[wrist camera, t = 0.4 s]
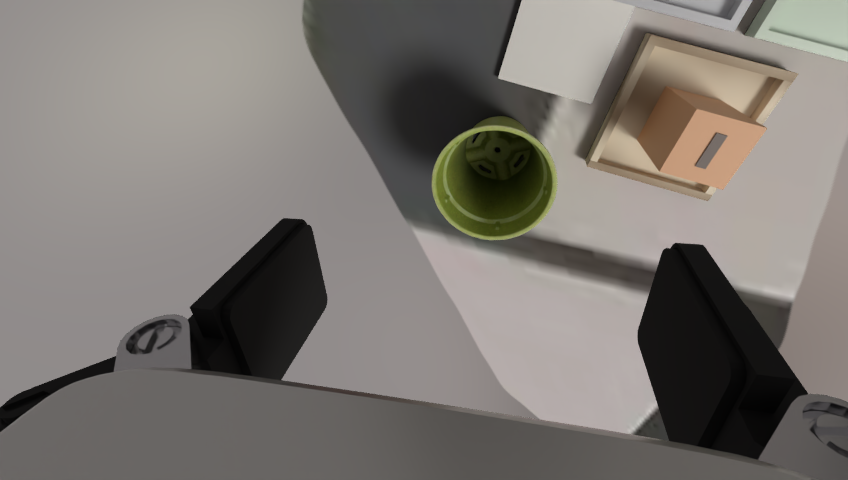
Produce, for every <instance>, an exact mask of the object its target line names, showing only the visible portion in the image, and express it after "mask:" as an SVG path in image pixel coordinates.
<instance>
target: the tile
mask: <svg viewBox="0 0 848 480" xmlns="http://www.w3.org/2000/svg"><path fill="white" fill-rule="evenodd" d="M634 8H635V6H632V5H628V4H624V3H620V2H617V1H613V0H522V1H521V4H520V8H519V11H518V14H517V17H516V21H515V24H514V27H513V31H512V34H511V37H510V40H509V44H508V47H507V50H506V53H505V57H504V60H503V63H502V66H501V70H500V73H499V76H498V79H502V80H506V81H509V82H513V83H516V84H520V85H524V86H527V87H531V88H534V89H538V90H542V91H545V92H549V93H552V94H556V95H560V96H563V97H567V98H570V99H574V100H578V101H581V102H585V103H588V104H592V102H593V99H594V97H595V95H596V93H597V90H598V88H599V86H600V84H601V81H602V79H603V77H604V75H605V73H606V70H607V68H608V66H609V64H610V61H611V59H612V57H613V55H614V53H615V50H616V48H617V46H618V44H619V41H620V39H621V37H622V35H623V32H624V30H625V28H626V26H627V24H628V21H629V19H630V17H631V15H632V12H633V10H634Z"/></svg>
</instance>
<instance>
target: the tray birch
mask: <svg viewBox="0 0 848 480" xmlns="http://www.w3.org/2000/svg"><path fill="white" fill-rule="evenodd" d="M797 75H798V74H797V73H794V72H791V71H788V70H785V69H781V68H777V67H774V66H770V65H766V64H762V63H758V62H755V61H751V60H747V59H743V58H740V57H736V56H732V55H728V54H725V53H721V52H717V51H713V50H710V49H706V48H702V47H698V46H695V45H691V44H687V43H683V42H680V41H676V40H672V39H668V38H665V37H661V36H657V35H653V34H649V33H646V34H645V36H644V38H643V40H642V43H641V45H640V47H639V49H638V51H637V53H636V55H635V57H634V59H633V61H632V63H631V66H630V68H629V70H628V72H627V74H626V76H625V78H624V80H623V82H622V84H621V86H620V89H619V91H618V93H617V95H616V97H615V99H614V101H613V103H612V105H611V107H610V109H609V112H608V114H607V116H606V118H605V120H604V122H603V124H602V126H601V128H600V130H599V132H598V135H597V137H596V139H595V141H594V143H593V145H592V147H591V149H590V151H589V153H588V155H587V158H586V160H585V161H586V164H587V167H591V168H594V169H598V170H601V171H605V172H608V173H612V174H615V175H619V176H622V177H625V178H629V179H632V180H636V181H639V182H643V183H646V184H650V185H653V186H657V187H660V188H664V189H667V190H671V191H674V192H678V193H681V194H685V195H688V196H692V197H695V198H699V199H702V200H706V201H708V200H709V199H710V198H711V196H712V195H713V193H714V192H715V191H716V189H717V188H715V187H711V186H708V185H704V184H701V183H697V182H694V181H690V180H687V179H683V178H680V177H676V176H673V175H669V174H666V173H662V172H659V171H658V169H657V168H656V166H655V165H654V164H653V162H652V161H651V159H650V158H649V156H648V155H647V154H646V152H645V151H644V149H643V148H642V146H641V145H640V144H639V142H638V141H637V138H638V137H639V135H640V133H641V131H642V129H643V127H644V125H645V124H646V122H647V120H648V118H649V116H650V114H651V112H652V111H653V109H654V107H655V105H656V103H657V101H658V100H659V98H660V96H661V94H662V92H663V90H664V88H665V87H666V86H668V87H672V88H676V89H679V90H683V91H687V92H690V93H694V94H698V95H701V96H705V97H709V98H712V99H716V100H720V101H723V102H725V103H727V104H728V105H730V106H731V107H733V108H735V109H736V110H738V111H740V112H741V113H743V114H745V115H746V116H748V117H750V118H751V119H753V120H755V121H756V122H758V123H760V124H761V125H763V123H764V122H765V120H766V119H767V118H768V116H769V115H770V113H771V112H772V110H773V109H774V108H775V106H776V105H777V103H778V102H779V101H780V99H781V98H782V96H783V95H784V94H785V92H786V91H787V89H788V88H789V87H790V85H791V84H792V82H793V81H794V80H795V78H796V77H797Z"/></svg>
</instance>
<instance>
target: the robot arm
mask: <svg viewBox="0 0 848 480" xmlns="http://www.w3.org/2000/svg"><path fill="white" fill-rule="evenodd" d="M326 305H327V294H326V289H325V285H324V280H323V276H322V271H321V267H320V262H319V258H318V253H317V249H316V244H315V240H314V235H313V231H312V228H311V226H310V225H307V223H306V222H305V221H304V220H302V219H288V218H284V219H282V220H281V221H280V222H279V223H278V224H276V225H275V226H274V227H273V228H272V229H271V230H270V231H269V232H268V233H267V234H266V235H265V236H264V237H263V238H262V239H261V240H260V241H259V242H258V243H257V244H256V245H254V246H253V247H252V248H251V249H250V250H249V251H248V252H247V253H246V254H245V255H244V256H243V257H242V258H241V259H240V260H239V261H238V262H237V263H236V264H235V265H233V266H232V268H231V269H229V270H228V271H227V272H226V273H225V274H224V275H223V276H222V277H221V278H220V279H219V280H218V281H217V282H216V283H215V284H214V285H213V286H211V288H209V289H208V290H207V291H206V292H205V293H204V294H203V295H202V296H201V297H200V298H199V299H198V300H197V301H196V302H195V303H194V304H193V305H192V306H191V307H190V309H191V311H192V313H193V315H192V316H191V317H190V318H189V319H188V320H187V319H186V318H185V317H183V316H180V315H164V316H159V317H155V318H153V319H150V320H148V321H145V322H143V323H142V324H140V325H138V326H136V327H135V328H133V329H132V330H131V331H130V332H128V333H127V334H126V335H125V336H124V338H123V339H122V340H121V341H120V344H119V346H118V349H117V355H116V356H115V357H112V358H110V359H107V360H104V361H102V362H99V363H96V364H94V365H91V366H89V367H86V368H84V369H81V370H78V371H75V372H73V373H70V374H68V375H65V376H62V377H60V378H57V379H54V380H52V381H49V382H47V383H44V384H41V385H39V386H36V387H33V388H31V389H29V390H26V391H23V392H21V393H19V394H17V395H16V396H14V397H12V398H11V399H10V400H8V401H7V402H6V403H5V404H4V405H3V406H1V407H0V480H848V402H846V401H844V400H841V399H838V398H834V397H830V396H827V395H819V394H808V393H807V391H806V390H805V389H804V387H803V386H802V384H801V383H800V381H799V380H798V378H797V377H796V376H795V374H794V373H793V371H792V370H791V369H790V367H789V366H788V364H787V363H786V361H785V360H784V358H783V357H782V355H781V354H780V353H779V351H778V350H777V348H776V347H775V345H774V344H773V343H772V341H771V340H770V338H769V337H768V335H767V334H766V333H765V331H764V330H763V328H762V327H761V325H760V324H759V322H758V321H757V320H756V318H755V317H754V315H753V314H752V312H751V311H750V310H749V308H748V307H747V306H746V305H745V304H744V303H743V301H742V300H741V299H740V297H739V296H738V294H737V293H736V291H735V290H734V288H733V287H732V286H731V284H730V283H729V281H728V280H727V278H726V277H725V275H724V274H723V273H722V271H721V270H720V268H719V267H718V265H717V264H716V262H715V261H714V260H713V258H712V257H711V255H710V254H709V252H708V251H707V249H706V248H705V247H704V246H703V245H699V244H683V243H675V244H673V246H672V247H671V249H669V248H665V249H664V250H663V252H662V255H661V258H660V261H659V264H658V267H657V271H656V274H655V277H654V280H653V283H652V287H651V290H650V293H649V296H648V300H647V303H646V306H645V309H644V312H643V316H642V319H641V322H640V325H639V329H638V344H639V347H640V350H641V353H642V357H643V360H644V363H645V366H646V369H647V372H648V375H649V379H650V382H651V385H652V388H653V391H654V394H655V397H656V401H657V404H658V407H659V410H660V413H661V416H662V419H663V423H664V426H665V429H666V432H667V435H668V438H669V441H666V440H660V439H654V438H648V437H642V436H637V435H631V434H625V433H619V432H614V431H608V430H602V429H595V428H589V427H583V426H576V425H570V424H564V423H557V422H551V421H545V420H539V419H532V418H526V417H519V416H513V415H507V414H501V413H494V412H488V411H482V410H475V409H468V408H462V407H455V406H449V405H442V404H436V403H429V402H423V401H416V400H410V399H403V398H397V397H390V396H383V395H377V394H370V393H364V392H357V391H350V390H343V389H337V388H329V387H323V386H316V385H309V384H302V383H295V382H289V381H282V380H281V379H282V377H283V376H284V374H285V373H286V371H287V369H288V368H289V366H290V365H291V363H292V361H293V360H294V358H295V357H296V355H297V353H298V352H299V350H300V349H301V347H302V345H303V344H304V342H305V341H306V339H307V337H308V336H309V334H310V332H311V331H312V329H313V327H314V326H315V324H316V323H317V321H318V320H319V318H320V316H321V315H322V313H323V311H324V310H325V308H326Z"/></svg>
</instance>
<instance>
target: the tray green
mask: <svg viewBox="0 0 848 480" xmlns="http://www.w3.org/2000/svg"><path fill="white" fill-rule="evenodd" d="M745 35H746V36H750V37H753V38H757V39H761V40H765V41H769V42H772V43H776V44H780V45H784V46H788V47H791V48H795V49H799V50H803V51H807V52H810V53H814V54H818V55H822V56H826V57H830V58H833V59H837V60H841V61H845V62H848V0H765V2H764V4H763V5H762V7H761V9H760V10H759V12H758V13H757V15H756V17H755V18H754V20H753V22H752V23H751V25H750V27H749V28H748V30H747V32H746V33H745Z"/></svg>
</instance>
